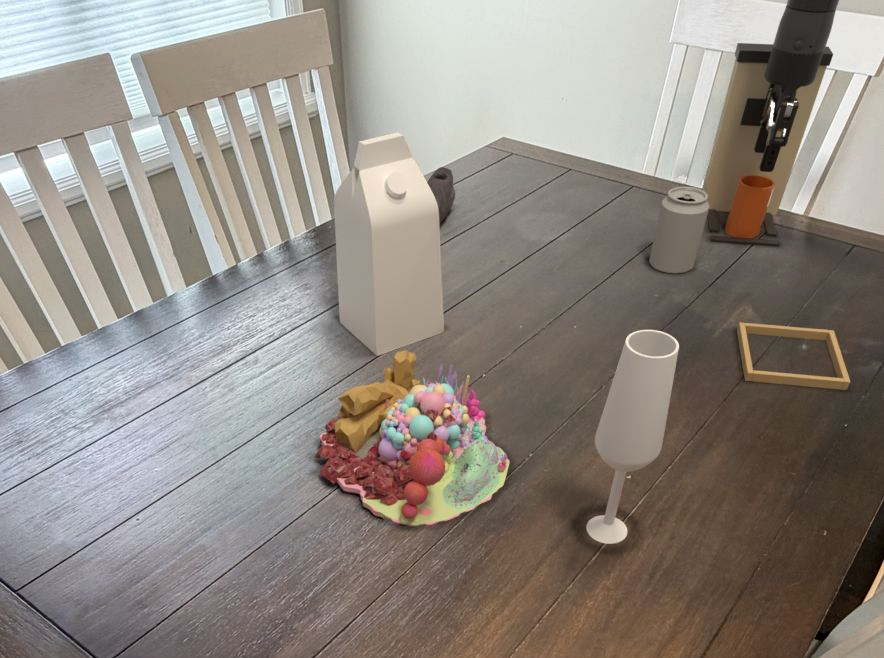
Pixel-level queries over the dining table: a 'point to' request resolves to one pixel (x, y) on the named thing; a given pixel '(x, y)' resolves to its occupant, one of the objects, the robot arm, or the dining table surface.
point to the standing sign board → (753, 138)
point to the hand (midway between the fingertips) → (762, 161)
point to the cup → (749, 206)
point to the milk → (388, 248)
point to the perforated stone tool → (442, 190)
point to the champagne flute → (634, 418)
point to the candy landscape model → (413, 447)
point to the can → (679, 230)
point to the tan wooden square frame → (786, 378)
